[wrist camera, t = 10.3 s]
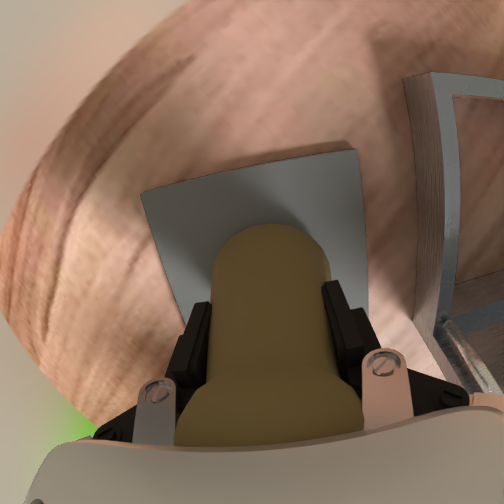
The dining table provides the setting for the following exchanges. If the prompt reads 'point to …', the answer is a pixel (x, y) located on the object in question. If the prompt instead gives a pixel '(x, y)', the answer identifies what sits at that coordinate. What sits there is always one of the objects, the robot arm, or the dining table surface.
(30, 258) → the dining table surface
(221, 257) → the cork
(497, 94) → the open lid tray
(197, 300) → the rubber mat
